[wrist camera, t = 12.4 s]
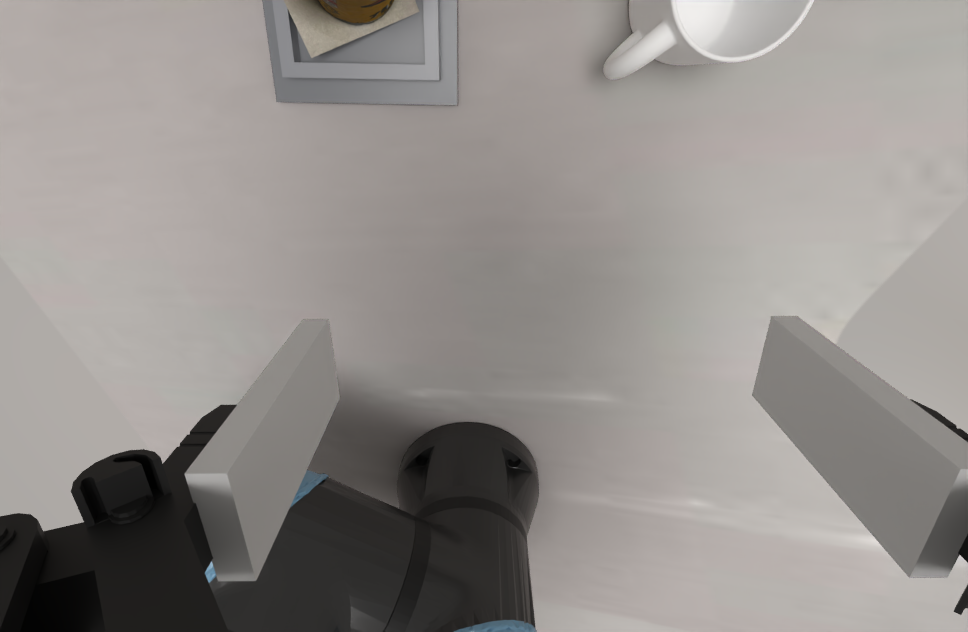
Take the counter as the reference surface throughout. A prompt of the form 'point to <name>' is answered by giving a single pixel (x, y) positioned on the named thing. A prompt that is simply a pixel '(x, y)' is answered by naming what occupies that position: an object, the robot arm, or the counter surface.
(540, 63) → the counter surface
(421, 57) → the dock
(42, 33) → the counter surface
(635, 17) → the mug
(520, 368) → the counter surface
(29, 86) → the counter surface
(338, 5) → the condiment
